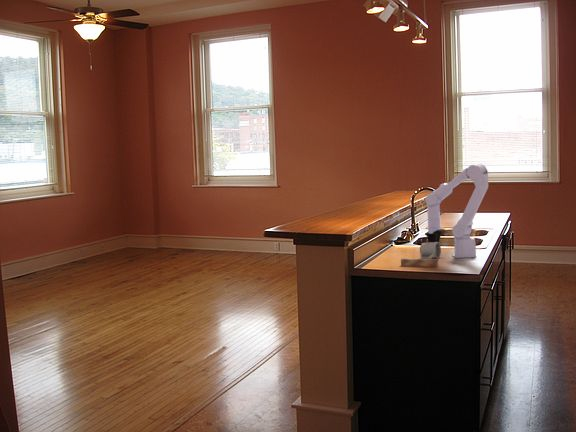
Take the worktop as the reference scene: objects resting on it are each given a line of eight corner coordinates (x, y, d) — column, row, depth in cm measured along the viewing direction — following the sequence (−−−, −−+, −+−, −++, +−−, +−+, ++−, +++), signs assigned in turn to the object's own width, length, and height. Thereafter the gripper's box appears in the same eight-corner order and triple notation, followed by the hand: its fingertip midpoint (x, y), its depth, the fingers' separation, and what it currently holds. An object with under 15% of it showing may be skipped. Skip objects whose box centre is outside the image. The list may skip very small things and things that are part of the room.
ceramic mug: (425, 256, 312) (424, 240, 311) (441, 257, 307) (440, 240, 307) (416, 260, 303) (415, 244, 302) (433, 261, 299) (432, 244, 298)
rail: (401, 265, 290) (400, 259, 289) (402, 264, 291) (402, 258, 291) (436, 266, 283) (436, 260, 282) (437, 266, 284) (437, 259, 284)
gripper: (429, 216, 320) (430, 244, 322) (421, 220, 307) (422, 248, 309) (443, 216, 317) (444, 244, 318) (436, 220, 304) (437, 248, 305)
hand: (434, 246), depth 313 cm, fingers open, 7 cm apart
